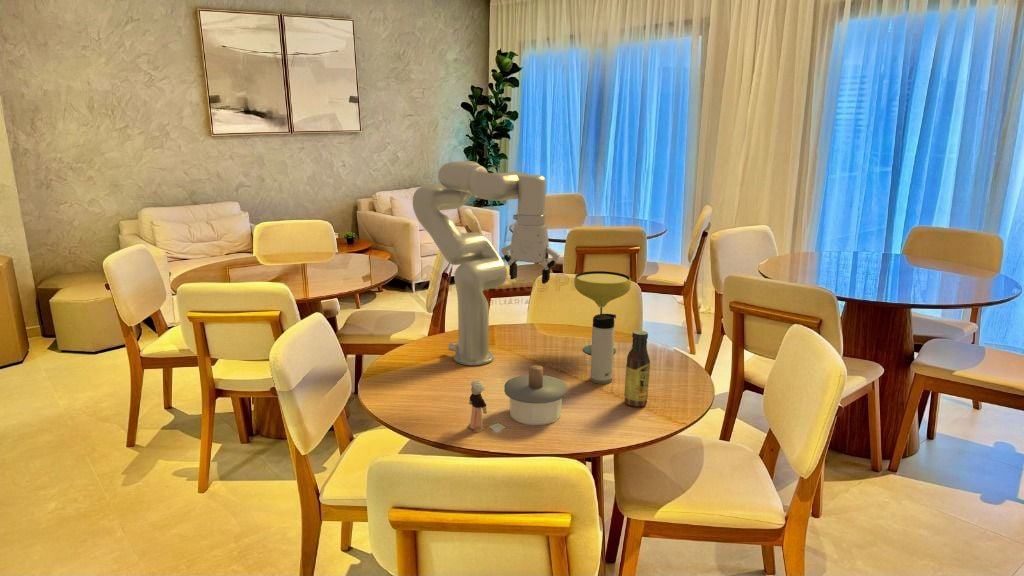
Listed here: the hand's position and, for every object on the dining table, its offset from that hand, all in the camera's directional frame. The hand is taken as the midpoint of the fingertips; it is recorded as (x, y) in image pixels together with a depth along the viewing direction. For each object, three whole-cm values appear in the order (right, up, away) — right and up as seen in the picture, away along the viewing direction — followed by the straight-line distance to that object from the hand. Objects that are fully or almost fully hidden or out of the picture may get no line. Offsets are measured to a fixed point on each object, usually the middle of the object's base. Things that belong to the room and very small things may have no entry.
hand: (529, 280), depth 188 cm
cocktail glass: (+24, -23, +33) cm, 47 cm away
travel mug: (+21, -29, +7) cm, 37 cm away
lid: (+1, -28, -17) cm, 33 cm away
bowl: (+1, -35, -16) cm, 38 cm away
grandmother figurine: (-13, -37, -25) cm, 46 cm away
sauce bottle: (+29, -33, -8) cm, 45 cm away
